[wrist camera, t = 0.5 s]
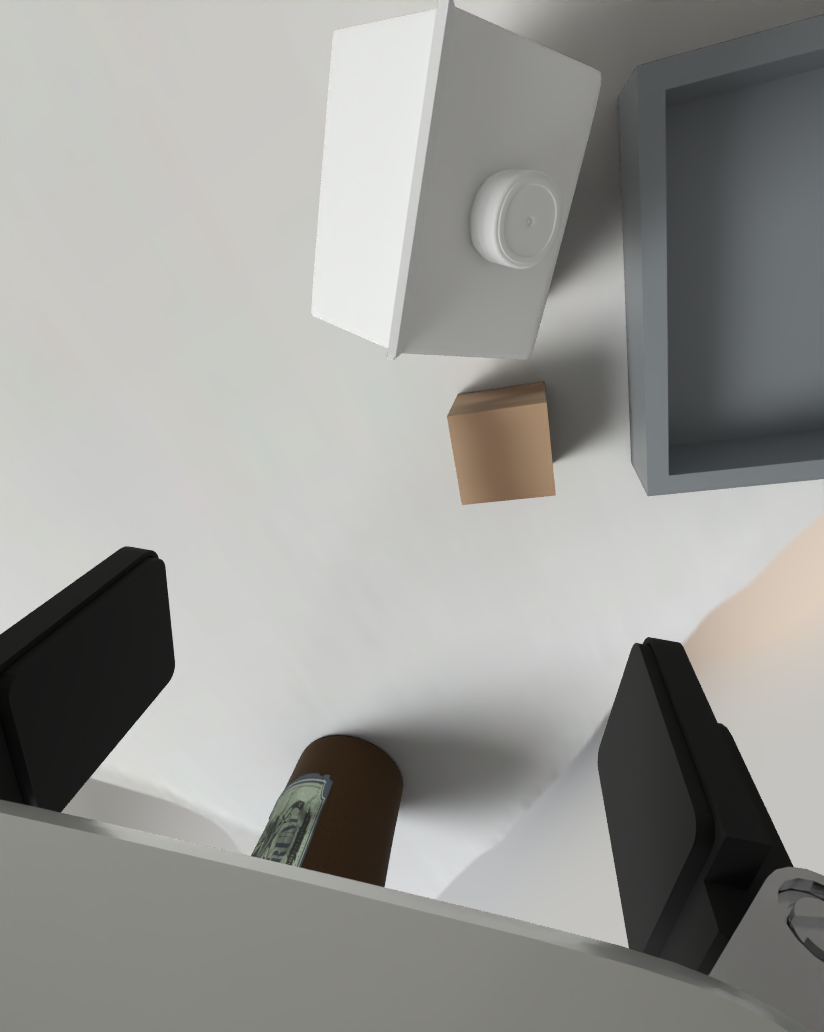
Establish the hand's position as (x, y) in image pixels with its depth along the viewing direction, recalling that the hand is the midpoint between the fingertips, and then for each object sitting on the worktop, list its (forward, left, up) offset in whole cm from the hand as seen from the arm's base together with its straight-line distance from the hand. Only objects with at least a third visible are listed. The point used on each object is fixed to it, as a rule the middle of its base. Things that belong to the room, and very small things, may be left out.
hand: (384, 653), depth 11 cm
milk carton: (-1, -8, -25) cm, 26 cm away
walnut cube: (-1, +3, -24) cm, 25 cm away
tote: (-15, -3, -24) cm, 29 cm away
